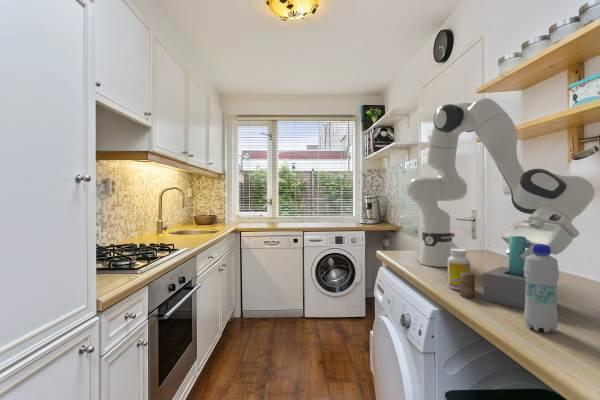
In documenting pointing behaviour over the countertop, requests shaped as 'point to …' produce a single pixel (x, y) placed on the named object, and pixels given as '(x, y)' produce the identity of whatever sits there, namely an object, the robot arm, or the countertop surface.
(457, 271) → the supplement bottle
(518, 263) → the long pin
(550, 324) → the bottle
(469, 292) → the short pin
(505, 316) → the countertop surface
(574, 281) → the countertop surface
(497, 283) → the hole block
